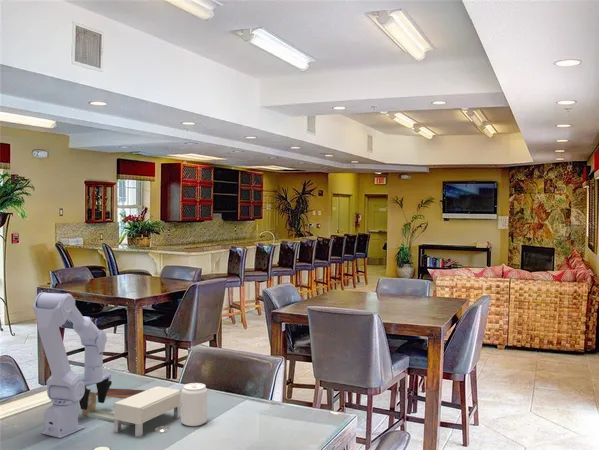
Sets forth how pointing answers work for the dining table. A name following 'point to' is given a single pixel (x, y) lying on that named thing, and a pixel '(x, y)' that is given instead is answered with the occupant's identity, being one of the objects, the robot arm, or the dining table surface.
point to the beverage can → (194, 404)
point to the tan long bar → (99, 411)
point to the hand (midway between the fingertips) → (92, 405)
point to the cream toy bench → (146, 407)
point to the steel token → (162, 429)
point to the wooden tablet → (122, 393)
